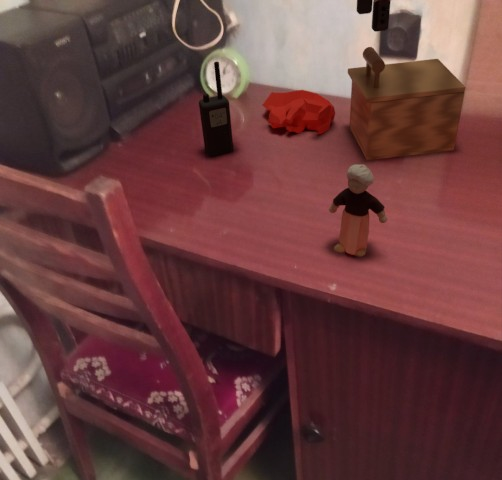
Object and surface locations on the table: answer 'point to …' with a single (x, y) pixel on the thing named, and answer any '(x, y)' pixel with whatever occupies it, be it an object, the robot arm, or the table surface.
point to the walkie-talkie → (216, 121)
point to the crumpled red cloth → (299, 111)
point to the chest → (405, 124)
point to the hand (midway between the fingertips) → (371, 21)
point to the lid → (402, 79)
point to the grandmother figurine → (356, 211)
